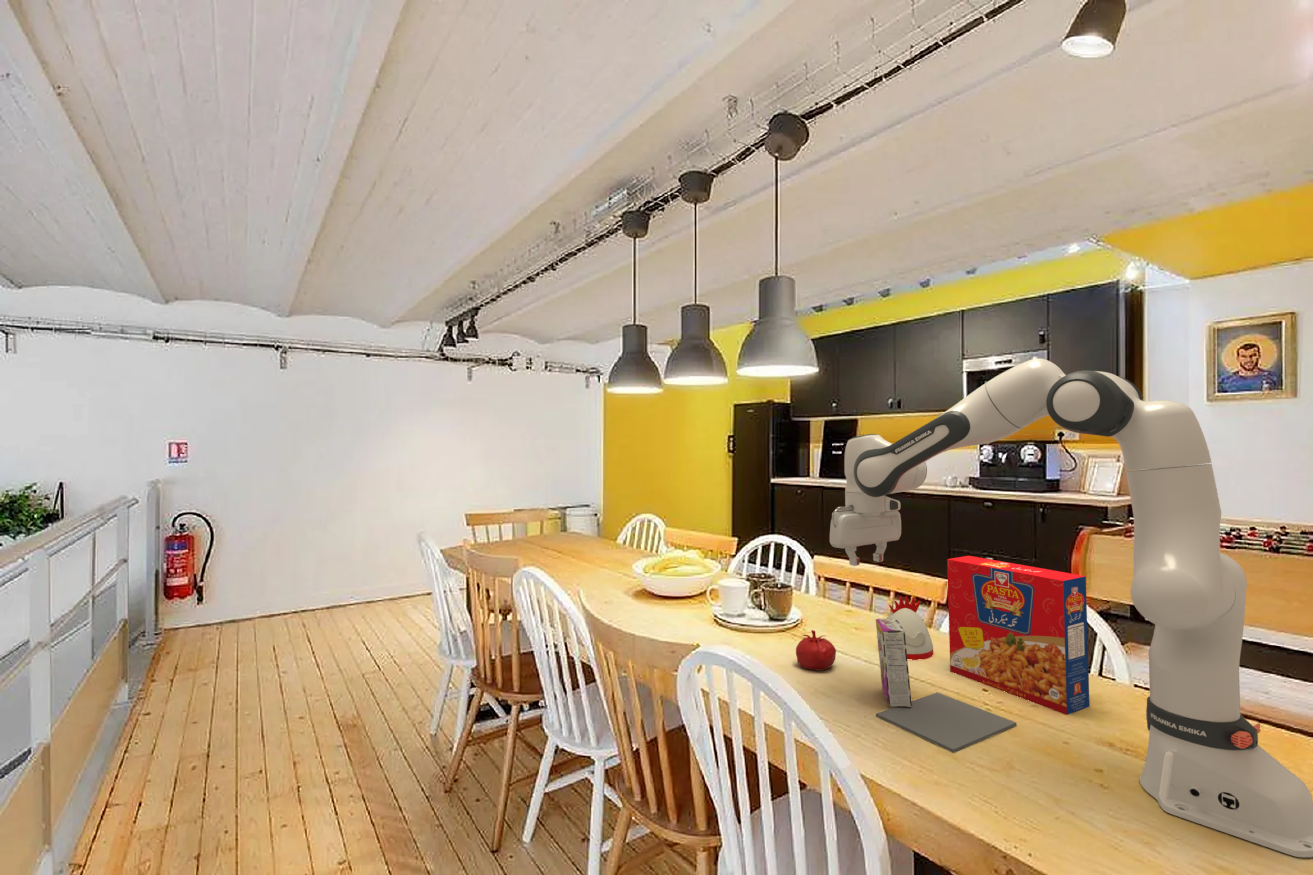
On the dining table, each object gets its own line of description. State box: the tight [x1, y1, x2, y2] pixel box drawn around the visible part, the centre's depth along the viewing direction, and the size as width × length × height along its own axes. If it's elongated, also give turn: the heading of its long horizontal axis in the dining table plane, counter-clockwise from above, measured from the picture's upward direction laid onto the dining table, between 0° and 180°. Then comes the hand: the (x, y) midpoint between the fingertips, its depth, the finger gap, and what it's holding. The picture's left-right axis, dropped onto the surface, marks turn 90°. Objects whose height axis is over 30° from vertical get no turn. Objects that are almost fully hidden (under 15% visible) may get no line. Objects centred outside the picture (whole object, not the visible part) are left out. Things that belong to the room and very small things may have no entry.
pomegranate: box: [795, 629, 837, 671], centre depth 160 cm, size 10×10×9 cm
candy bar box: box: [875, 618, 912, 708], centre depth 139 cm, size 11×5×16 cm, turn 168°
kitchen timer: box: [885, 595, 934, 661], centre depth 170 cm, size 14×14×15 cm
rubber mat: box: [875, 691, 1017, 754], centre depth 128 cm, size 18×20×1 cm
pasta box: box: [946, 555, 1090, 716], centre depth 144 cm, size 28×8×28 cm, turn 26°
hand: (866, 563), depth 145 cm, fingers open, 6 cm apart
